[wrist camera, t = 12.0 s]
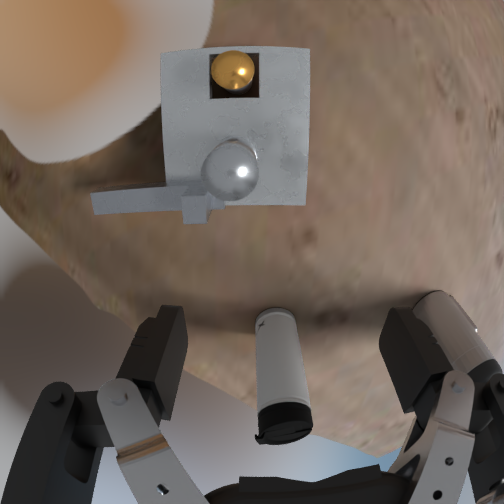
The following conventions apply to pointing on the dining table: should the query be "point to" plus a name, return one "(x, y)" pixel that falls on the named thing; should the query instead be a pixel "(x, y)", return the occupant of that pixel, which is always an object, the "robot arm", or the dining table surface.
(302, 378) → the travel mug
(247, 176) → the grey metal bracket
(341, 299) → the dining table surface
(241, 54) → the pin
